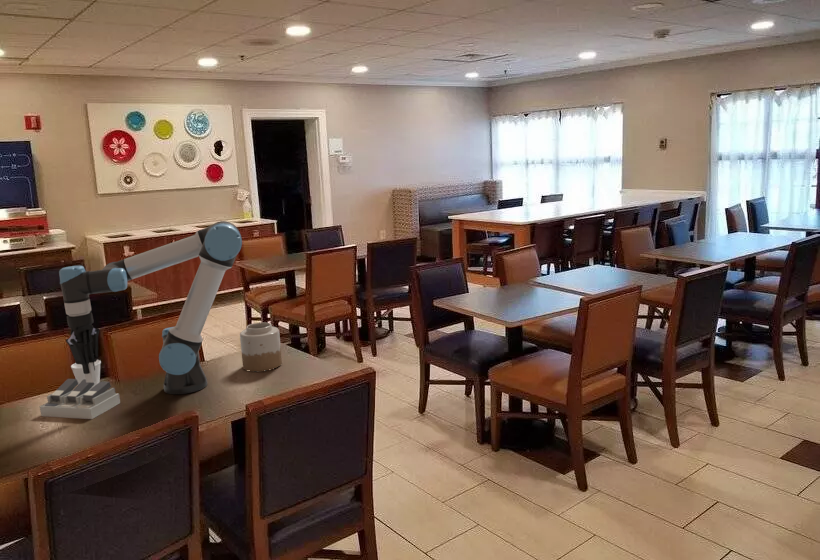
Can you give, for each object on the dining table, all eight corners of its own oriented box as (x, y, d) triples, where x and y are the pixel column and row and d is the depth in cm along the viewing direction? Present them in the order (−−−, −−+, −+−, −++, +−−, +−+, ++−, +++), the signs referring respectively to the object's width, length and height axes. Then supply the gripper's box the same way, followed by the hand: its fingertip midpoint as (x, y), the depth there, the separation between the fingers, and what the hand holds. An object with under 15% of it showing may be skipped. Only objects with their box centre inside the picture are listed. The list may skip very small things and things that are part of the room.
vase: (289, 364, 257) (286, 324, 254) (257, 375, 247) (253, 333, 243) (267, 357, 268) (264, 318, 265) (235, 367, 257) (231, 327, 254)
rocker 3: (110, 386, 222) (109, 381, 221) (93, 401, 214) (91, 395, 213) (102, 386, 223) (100, 380, 222) (84, 400, 215) (82, 395, 214)
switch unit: (120, 402, 224) (118, 386, 223) (91, 419, 211) (89, 402, 210) (71, 400, 229) (69, 384, 228) (41, 416, 216) (38, 399, 214)
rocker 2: (94, 384, 223) (92, 379, 222) (78, 401, 216) (75, 396, 215) (85, 383, 224) (83, 379, 223) (69, 401, 217) (66, 396, 216)
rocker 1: (78, 383, 225) (76, 378, 224) (61, 400, 217) (59, 396, 216) (70, 383, 226) (67, 378, 225) (53, 400, 218) (50, 395, 217)
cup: (93, 397, 231) (88, 368, 228) (68, 397, 233) (64, 368, 230) (110, 387, 240) (106, 359, 238) (87, 387, 242) (83, 359, 240)
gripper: (83, 308, 217) (95, 374, 222) (54, 318, 205) (67, 388, 209) (102, 308, 215) (113, 375, 220) (74, 318, 203) (86, 389, 208)
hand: (91, 381), depth 215 cm, fingers closed
